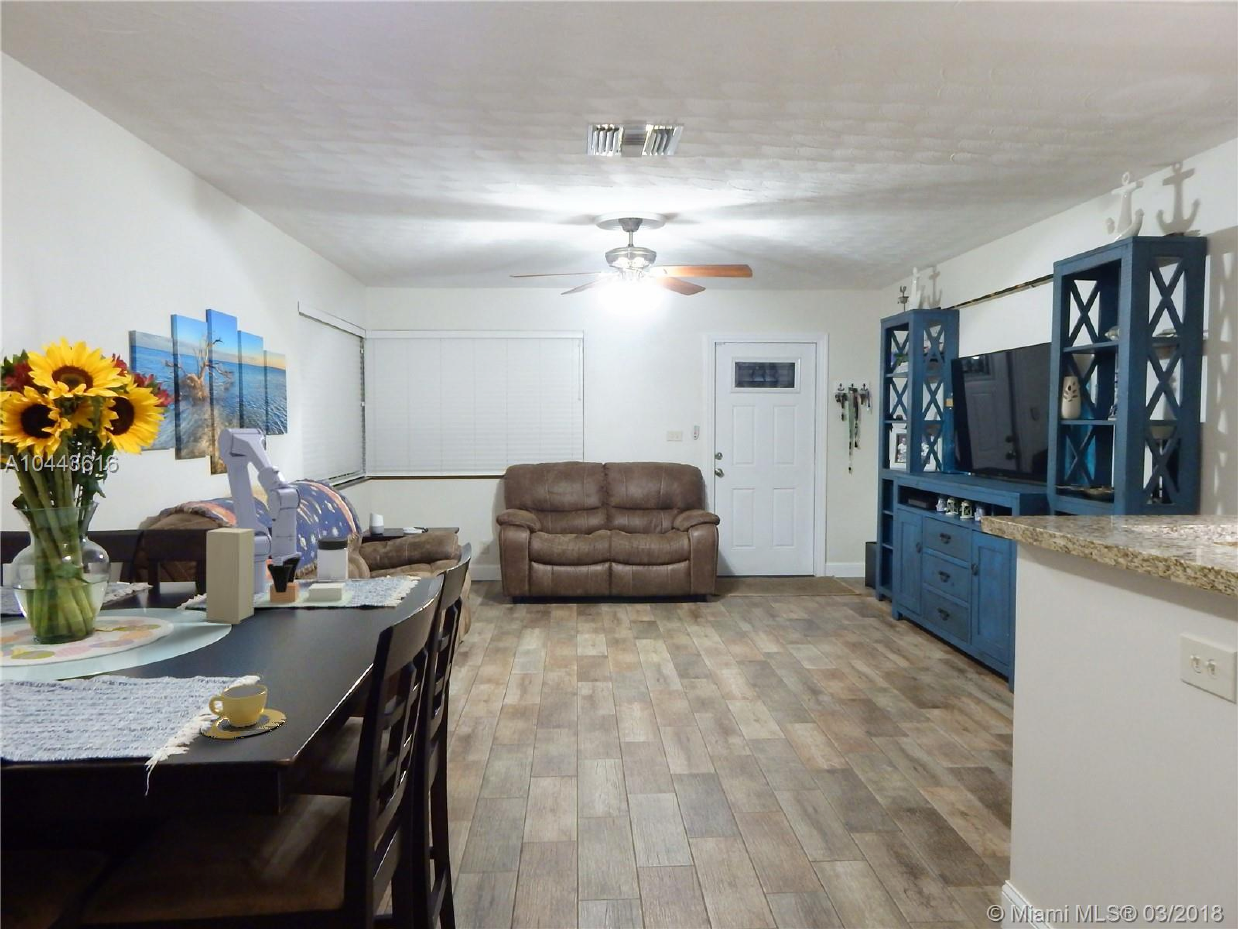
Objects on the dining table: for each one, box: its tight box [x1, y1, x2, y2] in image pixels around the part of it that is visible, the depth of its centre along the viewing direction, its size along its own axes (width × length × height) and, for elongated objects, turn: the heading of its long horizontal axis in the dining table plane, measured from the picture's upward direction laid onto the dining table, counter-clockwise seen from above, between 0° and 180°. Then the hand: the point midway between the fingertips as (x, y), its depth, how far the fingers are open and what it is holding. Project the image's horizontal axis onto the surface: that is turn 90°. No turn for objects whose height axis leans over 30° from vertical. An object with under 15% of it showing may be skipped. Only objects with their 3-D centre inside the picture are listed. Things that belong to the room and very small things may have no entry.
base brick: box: [308, 582, 346, 600], centre depth 206 cm, size 8×6×3 cm
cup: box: [203, 683, 287, 739], centre depth 123 cm, size 12×12×5 cm
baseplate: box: [254, 590, 356, 608], centre depth 204 cm, size 22×16×1 cm
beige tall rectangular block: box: [205, 527, 255, 625], centre depth 184 cm, size 8×7×21 cm
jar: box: [316, 536, 349, 583], centre depth 231 cm, size 9×8×12 cm
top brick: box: [269, 581, 300, 602], centre depth 202 cm, size 6×4×4 cm, turn 100°
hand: (284, 589), depth 202 cm, fingers open, 7 cm apart
